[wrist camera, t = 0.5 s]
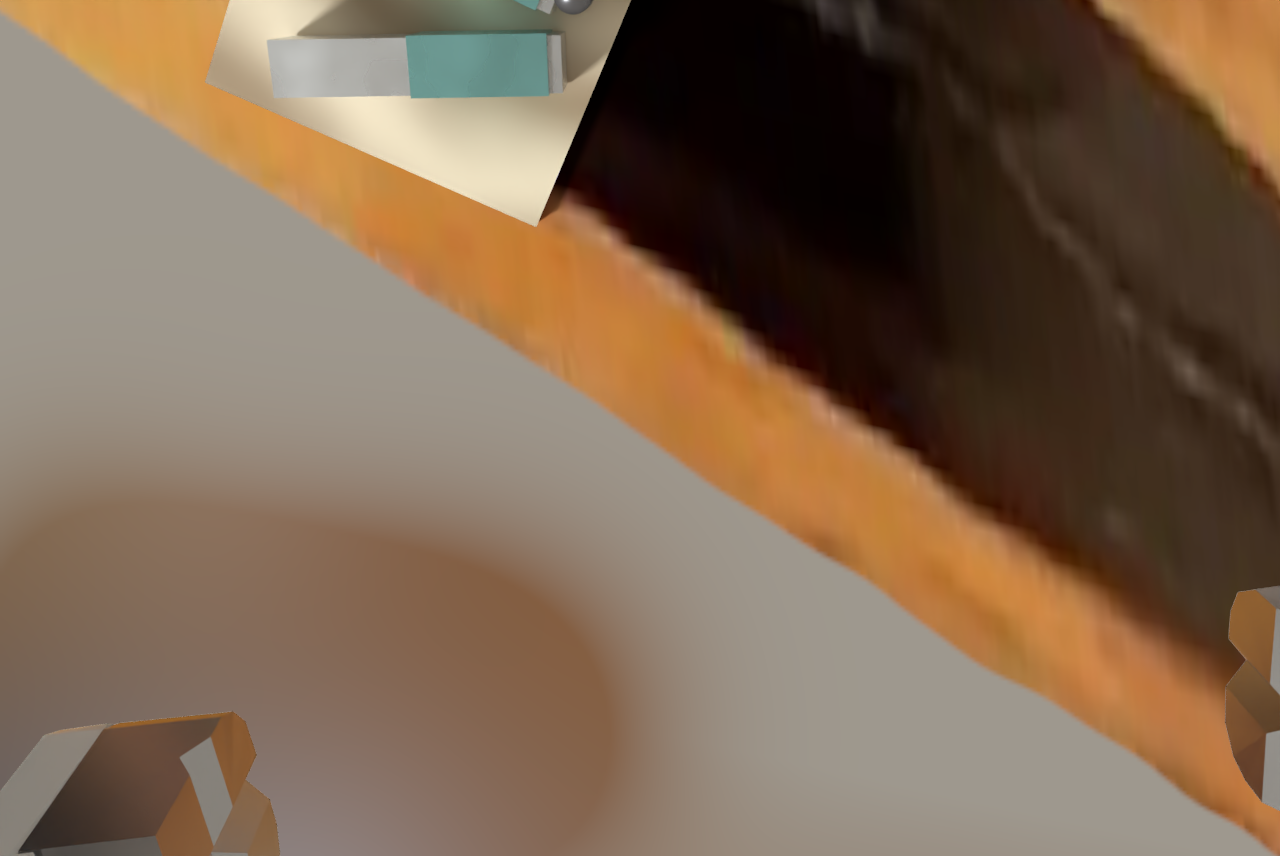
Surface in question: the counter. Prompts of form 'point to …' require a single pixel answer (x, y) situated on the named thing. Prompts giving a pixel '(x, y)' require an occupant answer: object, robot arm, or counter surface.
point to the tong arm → (420, 64)
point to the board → (431, 127)
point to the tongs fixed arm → (557, 5)
